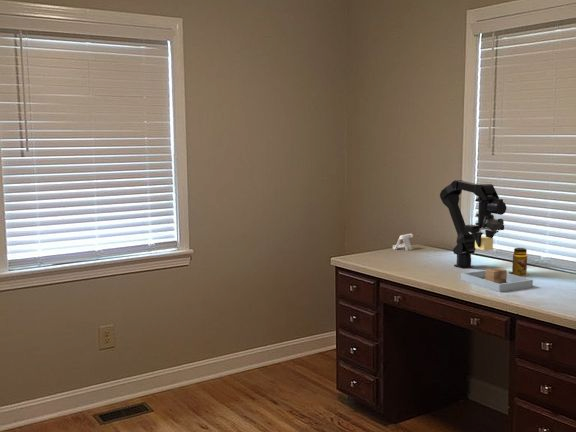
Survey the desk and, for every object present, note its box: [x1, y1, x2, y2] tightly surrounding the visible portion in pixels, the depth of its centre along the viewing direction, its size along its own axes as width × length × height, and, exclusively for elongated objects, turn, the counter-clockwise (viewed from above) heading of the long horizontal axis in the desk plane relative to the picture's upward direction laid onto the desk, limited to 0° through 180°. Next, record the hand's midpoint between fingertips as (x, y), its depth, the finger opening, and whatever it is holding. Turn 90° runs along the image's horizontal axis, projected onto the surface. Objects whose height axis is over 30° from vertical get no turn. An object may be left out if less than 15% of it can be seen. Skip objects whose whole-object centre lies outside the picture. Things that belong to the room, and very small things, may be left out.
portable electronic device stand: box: [392, 233, 414, 252], centre depth 353 cm, size 9×8×8 cm
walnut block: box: [484, 267, 508, 284], centre depth 276 cm, size 7×5×6 cm
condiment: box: [507, 247, 529, 278], centre depth 291 cm, size 7×8×12 cm
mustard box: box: [475, 235, 494, 251], centre depth 296 cm, size 6×5×5 cm
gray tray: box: [460, 269, 534, 293], centre depth 276 cm, size 23×18×3 cm
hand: (483, 246), depth 296 cm, fingers closed on mustard box, 5 cm apart
